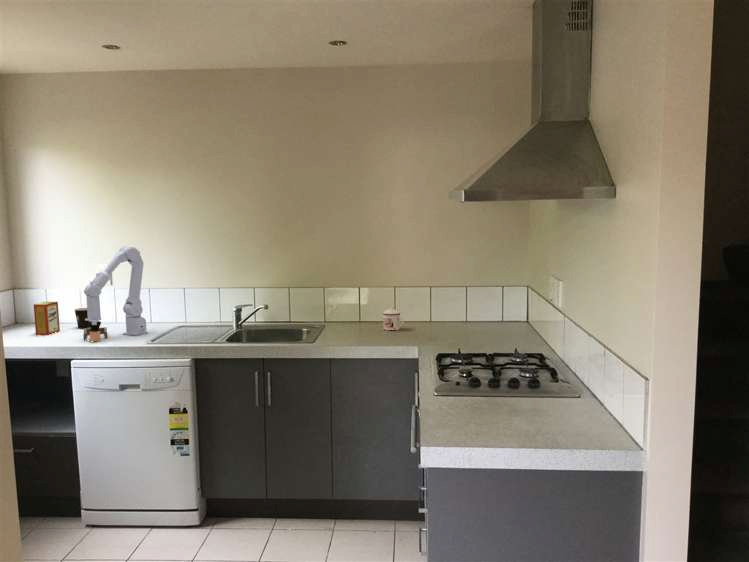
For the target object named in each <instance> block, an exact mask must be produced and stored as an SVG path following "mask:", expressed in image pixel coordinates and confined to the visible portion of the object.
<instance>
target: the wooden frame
mask: <svg viewBox="0 0 749 562" xmlns="http://www.w3.org/2000/svg"><path fill="white" fill-rule="evenodd" d="M99 331H100V335H104V339H108V329H107V327H99ZM90 332H91V329H90V328H86V329H83V333H82V335H83V341H86V340H85V339H87V340H88V336H90Z"/></svg>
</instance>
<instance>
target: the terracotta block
mask: <svg viewBox="0 0 749 562" xmlns="http://www.w3.org/2000/svg"><path fill="white" fill-rule="evenodd" d="M89 341H90V343H92V342H91V341H100V342H101V334H100V331H91V332H90V335H89Z"/></svg>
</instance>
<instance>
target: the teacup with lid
mask: <svg viewBox="0 0 749 562" xmlns="http://www.w3.org/2000/svg"><path fill="white" fill-rule="evenodd" d="M382 314H383V317H382V319H383V320H382V323H383V324H382V325H383V330H384V329H385V330H384V331H386V330H397V331H400V330H399V329H401V326H403V325H404V322H405V321H404V317H402V316H401V311H399V310H397V309H395V308H394V307H393V306H390V307H389V308H388V309H386V310H384V311H383V312H382Z"/></svg>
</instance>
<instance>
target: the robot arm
mask: <svg viewBox="0 0 749 562" xmlns="http://www.w3.org/2000/svg"><path fill="white" fill-rule="evenodd" d="M126 262H127V263H129V264H130V266H131V271H130V280H129V288H128V295H127V298H126V299H125V303H124V305H123V307H122V310H123V312H124V313H125V329H126V331H125V332H123V333H122V335H126V336H127V335H129V336H140V335H144V334H147V333H148V331H147V320H146V318H144V317H142V313H143V305H142V300H141V290H142V289H141V288H142V280H143V273H144V261H143V258H142V256H141V251H140V250H138V248H136V247H134V246H126V245H124V246H121V247H120V248H119V250H117V251H116V252H115V254H114V256H113V258H112V259H111V261H110V262H109V263H108V265H107V266H106V267H105V269H104V270H103V271H98V272H97V273H95V277H94V278H93V280H92V281H90V282H89V284H87V285H86V286H85V288H84V290H83V293H84V295H86V298H85V299H86V308H87V314H88V319H85V321H90V322H91V323H88V325H89V327H90V328H89V329H91V331H99V328H101V327H100V326H101V325H102V322H101V321H102V316H101V302H100V301H101V300H100V299H101V298H100V296H101V294H102V290H103V288H104V287H105V286H106V284H108V282H109V281H110V279H111V275H112V274H113V272H114V271H115V270H116V269H117V268H118V267H119V266H120V265H121V263H126Z"/></svg>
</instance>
